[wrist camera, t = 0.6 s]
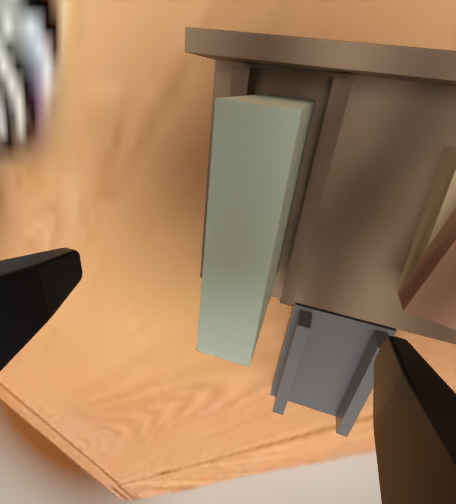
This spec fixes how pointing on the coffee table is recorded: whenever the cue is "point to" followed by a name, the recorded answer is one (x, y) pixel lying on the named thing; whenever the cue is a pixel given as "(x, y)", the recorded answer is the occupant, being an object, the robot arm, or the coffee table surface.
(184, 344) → the coffee table surface
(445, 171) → the offcut
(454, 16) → the coffee table surface
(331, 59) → the rack
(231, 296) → the panel
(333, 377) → the stand
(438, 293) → the offcut
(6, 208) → the coffee table surface
